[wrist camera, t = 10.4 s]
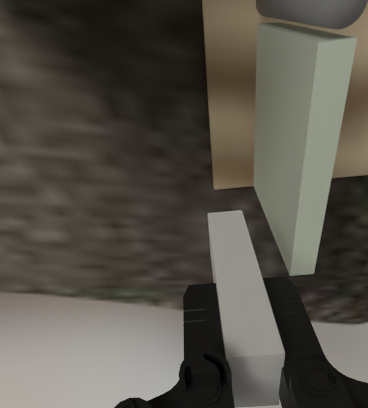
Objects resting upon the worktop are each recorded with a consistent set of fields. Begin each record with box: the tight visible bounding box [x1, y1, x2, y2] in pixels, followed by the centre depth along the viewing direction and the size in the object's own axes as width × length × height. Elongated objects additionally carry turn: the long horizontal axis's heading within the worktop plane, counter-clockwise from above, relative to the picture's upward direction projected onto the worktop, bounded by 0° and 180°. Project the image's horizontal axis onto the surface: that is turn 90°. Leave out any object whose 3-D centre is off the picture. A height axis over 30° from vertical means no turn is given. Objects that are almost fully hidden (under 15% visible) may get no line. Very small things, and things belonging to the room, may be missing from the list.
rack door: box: [253, 0, 368, 276], centre depth 16 cm, size 12×3×9 cm, turn 6°
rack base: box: [202, 0, 368, 190], centre depth 16 cm, size 15×15×11 cm
